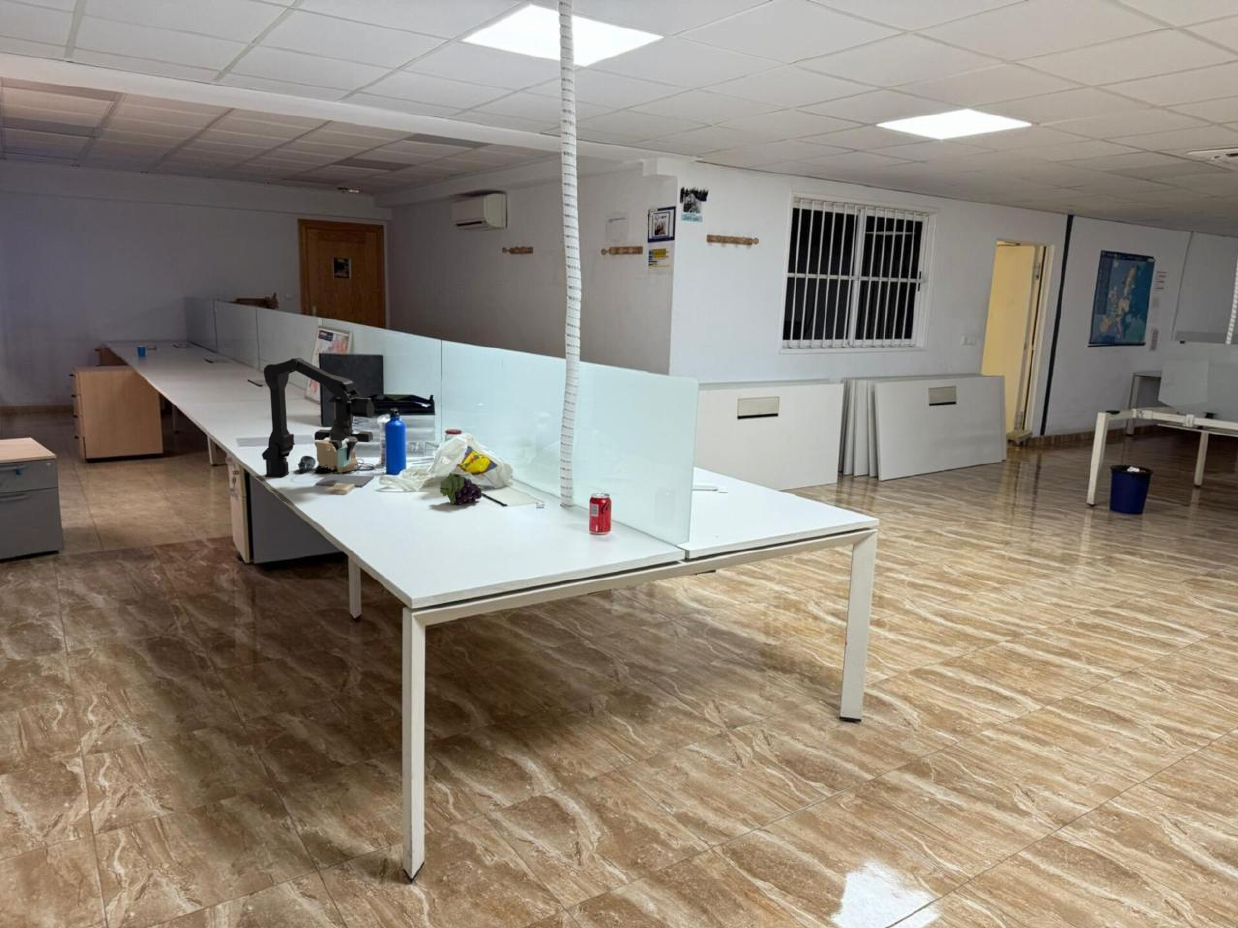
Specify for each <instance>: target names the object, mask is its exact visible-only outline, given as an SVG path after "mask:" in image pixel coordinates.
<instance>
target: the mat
mask: <svg viewBox="0 0 1238 928" xmlns="http://www.w3.org/2000/svg"><path fill="white" fill-rule="evenodd" d="M374 478H375V476H374V475H373V476H372V475H355V474H354V475H351V474H332V473H331V474H328V475H326V476H324V477H323V478H321V479H319V481H317V482H316V483H315V486H324V487H325V486H328V487H332V486H334V485H335V484H337V483H340V484H354V485H355V488H363V487H364V486H366V485H367V484H368V483H370V482H371V481H372V480H373V479H374Z"/></svg>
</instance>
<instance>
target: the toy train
mask: <svg viewBox="0 0 1238 928" xmlns="http://www.w3.org/2000/svg"><path fill="white" fill-rule="evenodd" d="M328 441H329V439H324V440H316V441H315V442H314V446H315V447H316V461H317V462H318V466H325V467H326V466H327V467H328V468H327V469H329V468H330V469H331V470H330V471H333V470H337V472H338V473H345V472H350V471H354V469H355V467H356V466H359V461H358V460H357V458H356V451H355V450H354V449H353V450H352V453H351V463H349V464H348V465H346V466H345V467H338V454H337V451H336V449H335V447H334V445H333V444H332V443H329V442H328ZM345 445H347V444H346V443H345V444H342V447H343V446H345Z"/></svg>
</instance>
